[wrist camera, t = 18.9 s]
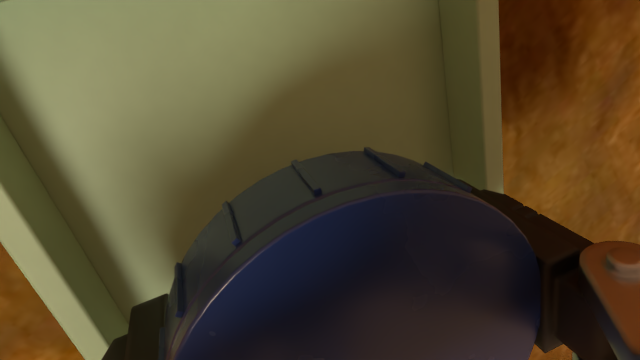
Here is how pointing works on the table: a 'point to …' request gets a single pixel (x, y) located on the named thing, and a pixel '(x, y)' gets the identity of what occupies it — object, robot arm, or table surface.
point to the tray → (213, 123)
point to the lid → (355, 270)
